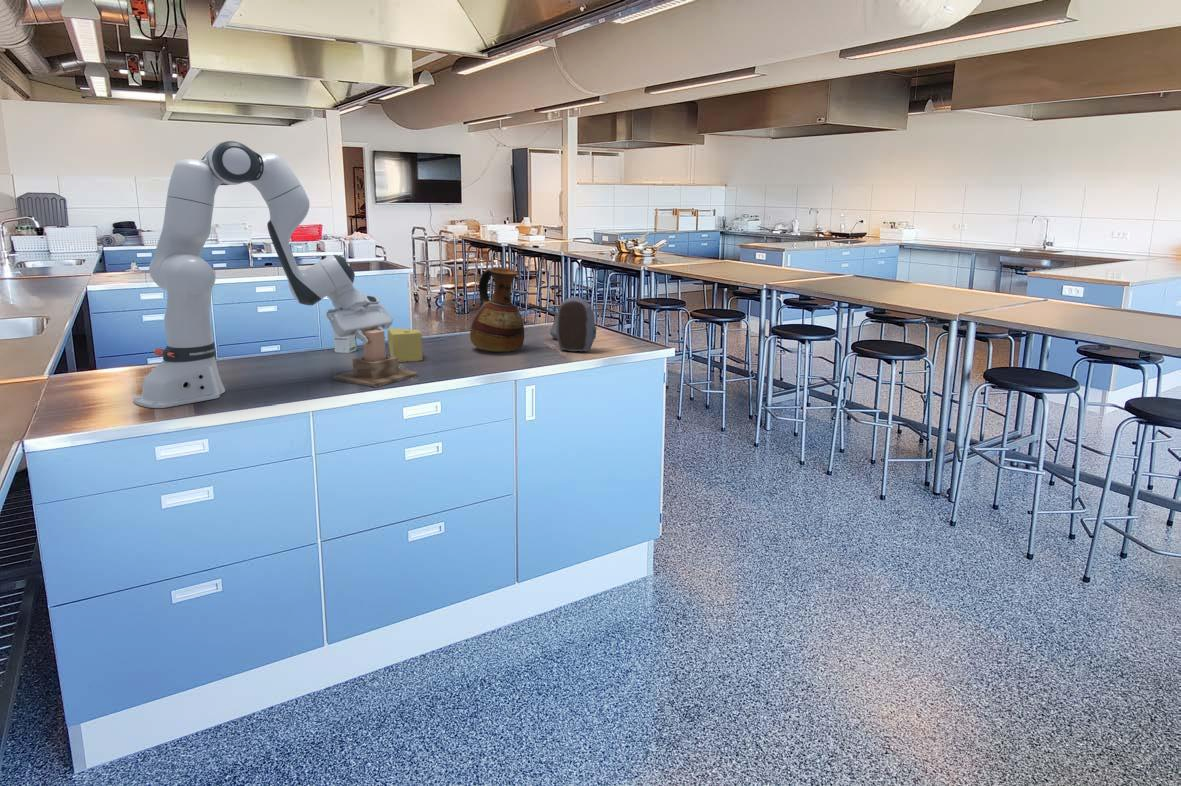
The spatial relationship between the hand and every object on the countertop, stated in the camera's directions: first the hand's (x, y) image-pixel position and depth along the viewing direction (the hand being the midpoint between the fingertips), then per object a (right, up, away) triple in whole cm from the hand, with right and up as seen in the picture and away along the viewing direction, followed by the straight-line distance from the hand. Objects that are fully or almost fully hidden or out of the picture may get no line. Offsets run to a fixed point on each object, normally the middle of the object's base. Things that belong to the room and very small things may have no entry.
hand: (375, 341), depth 225 cm
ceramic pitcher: (+32, 0, +45) cm, 55 cm away
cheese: (+2, -4, +29) cm, 30 cm away
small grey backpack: (+60, 0, +46) cm, 76 cm away
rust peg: (-1, -8, +3) cm, 9 cm away
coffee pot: (+51, +5, +66) cm, 83 cm away
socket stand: (-1, -11, +3) cm, 11 cm away
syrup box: (-22, -1, +39) cm, 45 cm away
